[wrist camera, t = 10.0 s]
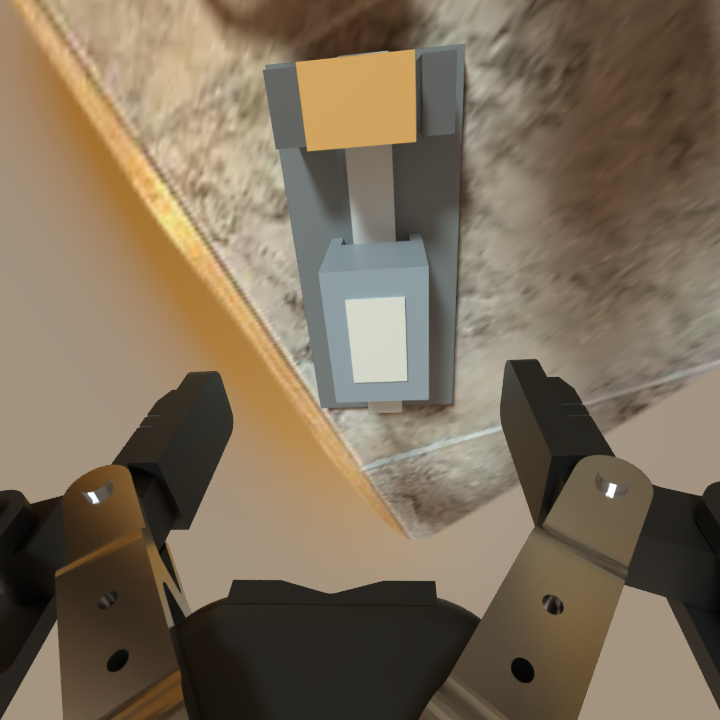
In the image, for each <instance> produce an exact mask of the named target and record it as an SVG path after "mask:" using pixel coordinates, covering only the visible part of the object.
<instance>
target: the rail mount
mask: <svg viewBox="0 0 720 720" xmlns="http://www.w3.org/2000/svg"><path fill="white" fill-rule="evenodd" d="M413 50H414V49H413ZM403 51H404V50H403ZM385 52H388V51H380V52H371V53H361V54H352V55H343V56H337V58H338V57H348V56H357V55H367V54H376V53H385ZM394 52H395V51H394ZM328 59H329V58H328ZM318 60H320V59H318ZM464 60H465V44H460V45H450V46H441V47H431V48H422V49H415V87H416V142H409V143H398V144H386V145H375V146H363V147H352V148H340V149H329V150H317V151H307V145H306V138H305V130H304V123H303V115H302V108H301V100H300V92H299V85H298V77H297V70H296V62H290V63H281V64H271V65H265V67H266V70H263V74H264V80H265V86H266V92H267V98H268V104H269V110H270V116H271V122H272V128H273V134H274V140H275V146H276V149H279V153H280V159H281V165H282V171H283V177H284V183H285V190H286V196H287V202H288V208H289V214H290V220H291V226H292V232H293V239H294V245H295V251H296V257H297V263H298V269H299V275H300V282H301V288H302V294H303V300H304V306H305V312H306V318H307V325H308V331H309V337H310V343H311V349H312V355H313V361H314V367H315V374H316V380H317V386H318V392H319V398H320V404H321V408H342V407H369V413H392V412H402V406H406V405H438V404H452V396H453V368H454V340H455V312H456V284H457V256H458V228H459V200H460V172H461V144H462V116H463V88H464ZM309 61H310V60H309ZM300 62H301V61H300ZM409 233H421V236H422V240H423V244H424V248H425V253H426V257H427V261H428V265H429V400H404V401H373V402H343V403H336V396H335V389H334V382H333V374H332V367H331V360H330V353H329V346H328V339H327V332H326V324H325V317H324V310H323V303H322V296H321V289H320V281H319V274H318V273H319V270H320V268H321V265H322V263H323V260H324V258H325V255H326V252H327V250H328V247H329V245H330V242H331V240H332V239H336V238H343V240H344V245H352V244H367V243H382V242H397V241H409Z"/></svg>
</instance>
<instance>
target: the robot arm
mask: <svg viewBox="0 0 720 720" xmlns="http://www.w3.org/2000/svg"><path fill="white" fill-rule="evenodd" d="M500 417H501V424H502V428H503V431H504V434H505V437H506V440H507V443H508V446H509V449H510V452H511V455H512V458H513V461H514V464H515V467H516V470H517V473H518V476H519V480H520V483H521V486H522V489H523V491H524V495H525V497H526V500H527V503H528V506H529V509H530V512H531V515H532V519H533V521H534V524H535V528H534V529H533V530H532V532H531V534H530V535H529V537H528V539H527V541H526V543H525V544H524V546H523V548H522V550H521V551H520V553H519V555H518V556H517V558H516V560H515V562H514V563H513V565H512V567H511V569H510V570H509V572H508V574H507V576H506V577H505V579H504V581H503V583H502V584H501V586H500V588H499V590H498V591H497V593H496V595H495V597H494V599H493V600H492V602H491V604H490V605H489V607H488V609H487V611H486V612H485V614H484V616H483V618H482V619H480V618H478V617H477V616H476V615H474V614H473V613H472V612H470V611H468V610H466V609H464V608H463V607H461V606H459V605H456V604H454V603H451V602H449V601H447V600H443V599H440V598H437V595H436V584H435V581H381V582H377V583H373V584H369V585H366V586H362V587H358V588H354V589H350V590H346V591H342V592H338V593H333V594H328V593H324V592H320V591H317V590H313V589H310V588H306V587H303V586H299V585H296V584H292V583H289V582H286V581H282V580H233V582H232V586H231V588H230V592H229V595H228V597H226V598H223V599H220V600H217V601H215V602H212V603H210V604H208V605H206V606H204V607H202V608H200V609H198V610H197V611H195V612H193V613H191V610H190V608H189V605H188V602H187V600H186V597H185V594H184V591H183V587H182V584H181V581H180V579H179V575H178V573H177V569H176V567H175V563H174V560H173V557H172V554H171V551H170V548H169V546H168V544H167V542H166V538H167V536H168V534H169V532H170V530H187V529H188V530H189V528H190V526H191V523H192V521H193V519H194V517H195V515H196V512H197V510H198V508H199V506H200V503H201V501H202V499H203V497H204V494H205V492H206V490H207V487H208V485H209V483H210V481H211V479H212V476H213V474H214V472H215V470H216V467H217V465H218V463H219V461H220V458H221V456H222V454H223V452H224V449H225V447H226V445H227V443H228V441H229V438H230V436H231V434H232V430H233V414H232V410H231V407H230V404H229V401H228V398H227V394H226V391H225V388H224V385H223V382H222V379H221V376H220V374H219V373H218V372H217V371H207V372H206V371H205V372H190V373H188V374H187V375H186V377H185V378H184V380H183V381H182V383H181V384H180V386H179V387H178V388H177V390H171V391H170V392H169V393H167V394H166V395H165V396H163V397H162V398H161V399H160V400H158V401H157V402H156V403H155V405H154V406H153V408H152V409H151V410H150V412H149V413H148V417H145V419H144V420H143V421H142V423H141V424H140V428H137V430H136V431H135V432H134V434H133V435H132V436H131V438H130V439H129V441H128V442H127V443H126V445H125V446H124V447H123V449H122V450H121V452H120V453H119V454H118V456H117V457H116V459H115V460H114V461H113V463H112V464H111V465H106V466H102V467H99V468H96V469H94V470H92V471H90V472H88V473H86V474H84V475H82V476H81V477H80V478H78V479H77V480H76V481H75V482H73V484H71V486H70V487H69V488H68V489H67V491H66V492H65V494H64V495H63V496H60V497H56V498H52V499H48V500H44V501H40V502H37V503H33V504H30V503H29V502H28V500H27V499H26V498H25V496H24V495H23V494H22V493H21V492H19V491H17V490H5V491H0V719H1V718H2V716H3V714H4V712H5V711H6V709H7V707H8V705H9V704H10V702H11V700H12V698H13V697H14V695H15V693H16V691H17V690H18V688H19V686H20V684H21V682H22V681H23V679H24V677H25V675H26V674H27V672H28V670H29V668H30V666H31V665H32V663H33V661H34V659H35V658H36V656H37V654H38V652H39V650H40V649H41V647H42V645H43V643H44V642H45V640H46V638H47V636H48V634H49V632H50V631H51V629H52V627H53V626H54V624H55V622H56V620H57V624H58V640H59V658H60V673H61V674H60V675H61V692H62V708H63V720H577V719H578V716H579V713H580V710H581V708H582V705H583V702H584V699H585V696H586V693H587V690H588V687H589V684H590V682H591V679H592V676H593V673H594V670H595V667H596V664H597V661H598V658H599V656H600V653H601V650H602V647H603V644H604V641H605V638H606V635H607V632H608V630H609V626H610V624H611V621H612V618H613V615H614V612H615V609H616V606H617V604H618V601H619V598H620V595H621V592H622V589H623V586H624V585H627V586H630V587H634V588H637V589H640V590H644V591H647V592H651V593H654V594H657V595H661V596H664V597H666V598H667V600H668V602H669V604H670V607H671V609H672V611H673V613H674V615H675V617H676V619H677V621H678V623H679V625H680V628H681V629H682V632H683V633H684V636H685V638H686V640H687V642H688V644H689V646H690V648H691V651H692V653H693V655H694V657H695V659H696V661H697V663H698V665H699V667H700V669H701V671H702V674H703V676H704V678H705V680H706V682H707V684H708V686H709V688H710V690H711V692H712V695H713V697H714V699H715V701H716V703H717V705H718V707H719V709H720V482H715V483H713V484H711V485H709V486H708V487H707V488H706V490H705V491H704V493H703V495H702V496H698V495H693V494H689V493H684V492H679V491H675V490H670V489H666V488H662V487H658V486H655V485H652V484H651V482H650V480H649V479H648V477H647V476H646V475H645V474H644V473H643V472H642V471H641V470H640V469H638V468H637V467H636V466H634V465H632V464H630V463H629V462H627V461H624V460H622V459H619V458H616V457H615V455H614V453H613V452H612V450H611V448H610V447H609V445H608V443H607V442H606V440H605V438H604V437H603V435H602V434H601V432H600V430H599V429H598V427H597V425H596V424H595V422H594V420H593V419H592V417H591V416H589V412H588V411H587V409H586V407H585V406H584V405H582V401H581V399H580V398H579V396H578V394H577V393H576V391H575V389H574V388H573V387H571V386H570V385H569V384H567V383H566V382H565V381H563V380H562V379H561V378H559V377H547V376H546V374H545V372H544V371H543V369H542V367H541V365H540V363H539V361H538V360H537V359H525V360H507V362H506V364H505V369H504V378H503V387H502V395H501V404H500Z"/></svg>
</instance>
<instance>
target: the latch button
mask: <svg viewBox="0 0 720 720" xmlns="http://www.w3.org/2000/svg"><path fill="white" fill-rule="evenodd" d="M296 70H297V77H298V85H299V92H300V100H301V108H302V115H303V123H304V130H305V138H306V145H307V151H317V150H329V149H340V148H352V147H363V146H375V145H386V144H398V143H409V142H416V87H415V49H414V50H404V51H395V52H385V53H376V54H367V55H357V56H348V57H338V58H329V59H320V60H310V61H301V62H296Z"/></svg>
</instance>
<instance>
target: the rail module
mask: <svg viewBox="0 0 720 720" xmlns="http://www.w3.org/2000/svg"><path fill="white" fill-rule="evenodd" d="M318 274H319V281H320V289H321V296H322V303H323V310H324V317H325V324H326V332H327V339H328V346H329V353H330V360H331V367H332V374H333V382H334V389H335V396H336V403H343V402H373V401H404V400H429V265H428V261H427V257H426V253H425V248H424V244H423V240H422V236H421V233H409V241H397V242H382V243H367V244H352V245H344V240H343V238H336V239H332V240H331V242H330V245H329V247H328V250H327V252H326V255H325V258H324V260H323V263H322V265H321V268H320V270H319V273H318Z"/></svg>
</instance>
